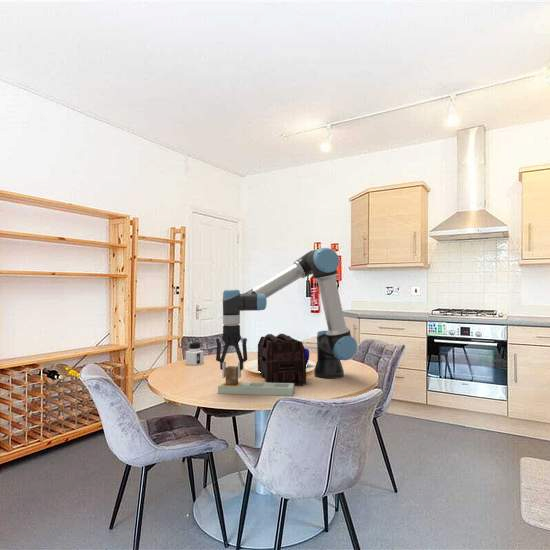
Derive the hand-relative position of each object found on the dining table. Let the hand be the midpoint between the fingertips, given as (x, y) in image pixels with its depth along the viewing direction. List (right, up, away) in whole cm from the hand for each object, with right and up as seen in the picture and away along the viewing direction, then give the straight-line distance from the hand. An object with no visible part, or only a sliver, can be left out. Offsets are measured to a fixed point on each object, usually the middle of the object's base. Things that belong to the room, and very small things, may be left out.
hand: (231, 377), depth 173 cm
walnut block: (0, -5, 0) cm, 5 cm away
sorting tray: (+11, -6, -2) cm, 13 cm away
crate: (+22, -7, +24) cm, 33 cm away
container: (-29, -9, +63) cm, 70 cm away
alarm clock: (+32, -8, +53) cm, 63 cm away
